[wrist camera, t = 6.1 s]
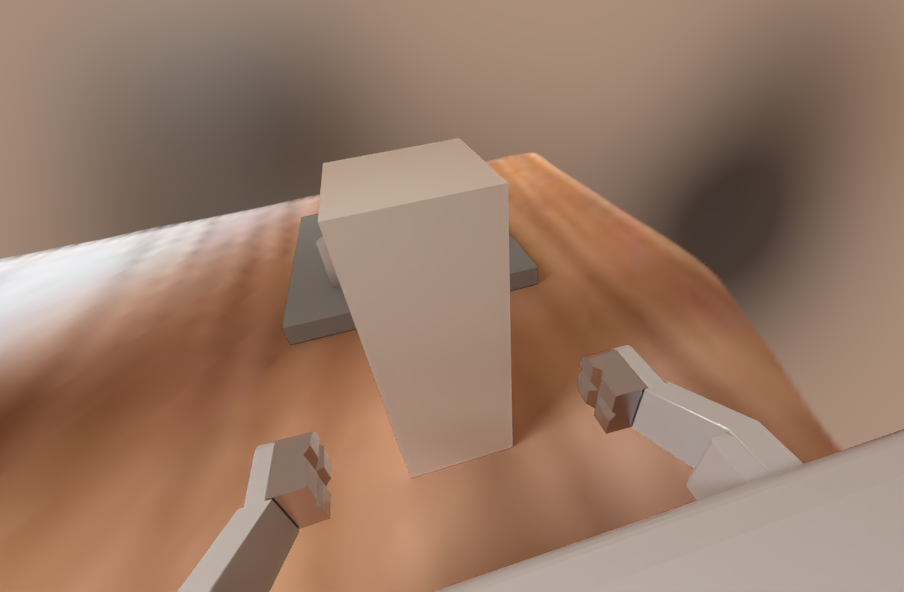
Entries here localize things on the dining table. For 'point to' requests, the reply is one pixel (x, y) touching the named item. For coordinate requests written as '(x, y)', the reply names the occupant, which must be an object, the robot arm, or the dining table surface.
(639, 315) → the dining table surface
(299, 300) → the peg cradle
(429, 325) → the cream post
